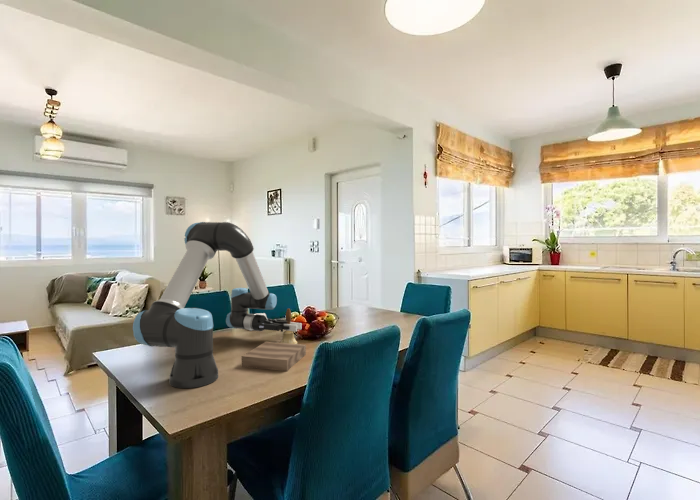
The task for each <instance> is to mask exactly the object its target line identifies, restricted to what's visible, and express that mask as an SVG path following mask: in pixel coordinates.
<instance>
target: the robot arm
mask: <svg viewBox="0 0 700 500" xmlns="http://www.w3.org/2000/svg"><path fill="white" fill-rule="evenodd" d="M184 237H185V238H183V239H184V245H185V250H186V251H185V254H184V255H183V257H182V259H181V260H180V262H179V264H178V266H177V268H176V270H175V271H174V273H173V275H172V277H171V279H170V280H169V282H168V283H167V285H166V288H165V290H164V291H163V293H162V294H161V297H160V299H157V300H154V301H153V302H152V303H151V305H150V307H149V308H148V310H146V309H145V310H142V311H140V312H138V313H137V315H136V316H135V318H134V320H133V324H132V331H133V337H134V339H135V340H136V342H137V343H139V344H141V345H143V346H149V347H161V348H174V352H175V355H174V357H175V358H174V361H173V365H172V367H171V371H170V373H169V380H168V381H169V385H170V386H171V387H173V388H179V389H193V388H199V387H204V386H207V385H210V384H212V383H214V382H216V381H217V380H218V378H219V369H218V366H217V363H216V359H215V357H214V320H213V315H212V313H211V312H210V311H209V310H206V309H203V308H199V307H186V304H187V303H188V301H189V299H190V296H192V295H191V294H192V293H193V290H194V288H195V287H196V285H197V282H198V281H199V279H200V276H201V275H202V272H203V271H204V269H205V266H206V264H207V262H208V261H209V260H212V259H214V258H215V255H216V254H217V252H218V251H221V252H222V251H226V252H229V253H230V256H231V257H232V258H233V259H235V260H236V262H237V265H238V268H239V269H240V272H241V274H242V277H243V279H244V280H245V283H246V285H247V287H248V288H245V287H236V288H233V289H232V290H231V297H230V300H231V303H230V304H231V305H230V306H231V308H230V309H231V310H230V312H229V313H227V315H226V318H225V324H226V325H227V327H229V328H231V329H232V328H233V329H240V330H249V332H252V331H255V332H256V331H257V332H263V331H265V330H266V331H267V330H268V331H273V332H274V331H276V332H281V333H282V332H283V333H284V331H286V330H288V331H293V332H298V330H302V325H303V324H302V322H294V321H292V320H291V321H290V324H287V321H286V319H279V318H274V319H272V318H268V317H267V316H266V317H267V318H266V317H265V316H264V315H257V314H255V313H248V309H252V310H253V309H254V310H255V309H256V310H265V311H266V310H274V309H275V308H276V306H277V302H278V299H277V298H278V297H277V294H274V293H272V292H269V290H268V288H267V285H266V282H265V279H264V277H263V275H262V273H261V270H260V267H259V265H258V262H257V259H256V257H255V255H254V249H255V248H254V245H253V243H252V241H251V239H250V237H249V236H248V235H247V234H246V232H244V230H243V229H242V228H241V227H239V226H238V225H237V224H235V223H231V222H229V221H228V222H227V221H222V222H221V221H220V222H217V221H215V222H214V221H213V222H211V221H207V222H206V221H200V222H193V223H192V224H190V225H189V226H188V227H187V229H186V230H185V232H184ZM248 289H249V291H250V292H249V291H248ZM267 319H268V320H267Z"/></svg>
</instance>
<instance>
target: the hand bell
mask: <svg viewBox="0 0 700 500" xmlns="http://www.w3.org/2000/svg"><path fill="white" fill-rule="evenodd" d="M285 320H286V321H287V324H290V321H291V322H292V311H291V308H287V309H286V311H285ZM279 343H289V344H299V342H298V341H297V340H296V338H295V334H294V331H288V330H284V331H283V334H282V339H281V340H280V342H279Z"/></svg>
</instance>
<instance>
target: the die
mask: <svg viewBox="0 0 700 500" xmlns="http://www.w3.org/2000/svg"><path fill="white" fill-rule="evenodd" d="M254 314H257V315H264V316H265V317H266V318H267V320H268V319H269V318H268V317H267V314H266V313H265V312H263V313H262V312H260V313H254Z"/></svg>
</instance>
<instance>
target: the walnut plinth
mask: <svg viewBox="0 0 700 500" xmlns="http://www.w3.org/2000/svg"><path fill="white" fill-rule="evenodd" d="M306 355H307V344H299V343H298V344H289V343H280V342H273V341H270V342H269V341H264V342H263V343H261V344H260V345H258V346H256V347H254V348H253V349H251V350H250V351H248V352H246V353H245V354H242V356H241V368H248V369H249V368H250V369H261V370H270V371H271V370H272V371H283V372H288V371H289V370H290V369H291V368H293V367H294V366H295V365H296V364H297V363H298V362H299V361H300V360H301V359H303V357H305V356H306Z"/></svg>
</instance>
